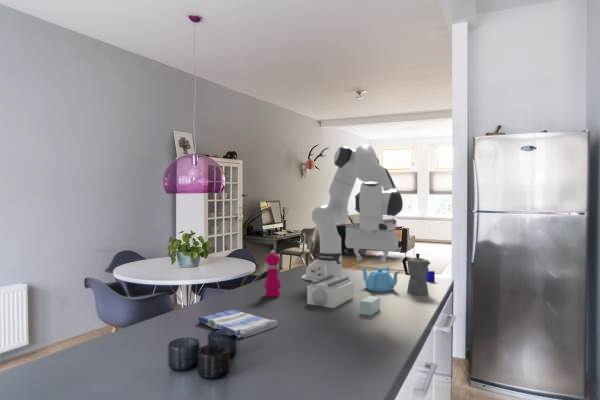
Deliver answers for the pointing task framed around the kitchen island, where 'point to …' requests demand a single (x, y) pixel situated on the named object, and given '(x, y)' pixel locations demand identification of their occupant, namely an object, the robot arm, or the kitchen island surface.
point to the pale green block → (369, 305)
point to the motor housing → (330, 291)
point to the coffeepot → (416, 275)
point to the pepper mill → (272, 275)
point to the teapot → (380, 280)
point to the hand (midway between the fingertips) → (370, 261)
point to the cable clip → (430, 276)
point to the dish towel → (238, 322)
